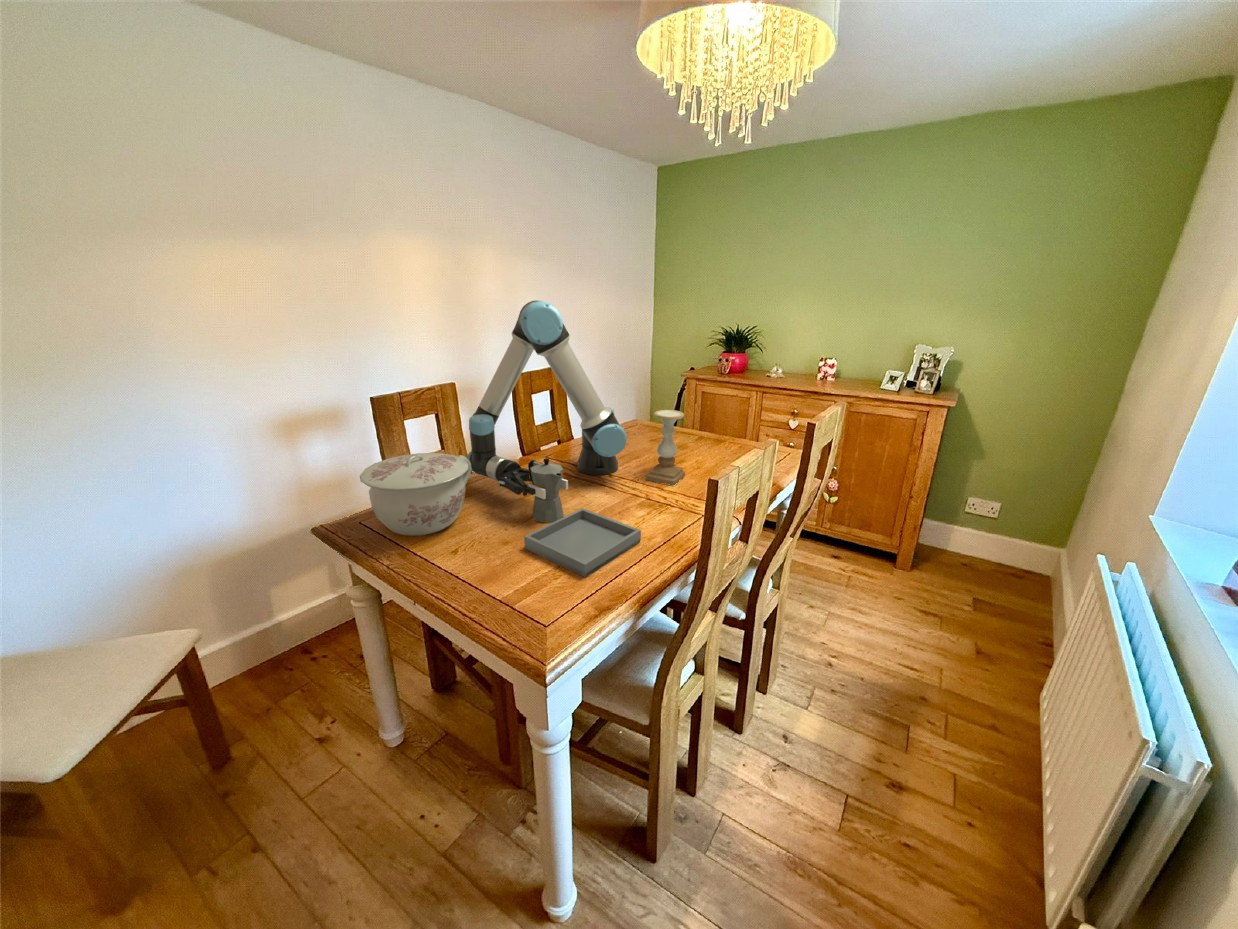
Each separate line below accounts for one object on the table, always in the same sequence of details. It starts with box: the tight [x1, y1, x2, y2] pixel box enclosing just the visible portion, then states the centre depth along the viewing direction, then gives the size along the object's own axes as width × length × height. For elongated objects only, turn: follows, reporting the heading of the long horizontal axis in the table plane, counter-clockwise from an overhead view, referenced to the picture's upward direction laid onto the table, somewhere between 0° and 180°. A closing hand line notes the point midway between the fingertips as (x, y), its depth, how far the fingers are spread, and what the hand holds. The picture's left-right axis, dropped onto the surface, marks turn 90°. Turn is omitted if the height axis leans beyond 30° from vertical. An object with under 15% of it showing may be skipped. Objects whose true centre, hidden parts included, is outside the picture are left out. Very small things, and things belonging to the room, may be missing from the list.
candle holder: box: [645, 409, 686, 486], centre depth 169 cm, size 11×11×24 cm
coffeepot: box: [527, 457, 565, 524], centre depth 141 cm, size 15×9×18 cm, turn 44°
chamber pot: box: [359, 452, 472, 537], centre depth 133 cm, size 28×28×21 cm
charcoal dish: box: [523, 507, 642, 578], centre depth 127 cm, size 22×21×4 cm
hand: (556, 489), depth 138 cm, fingers closed on coffeepot, 8 cm apart
